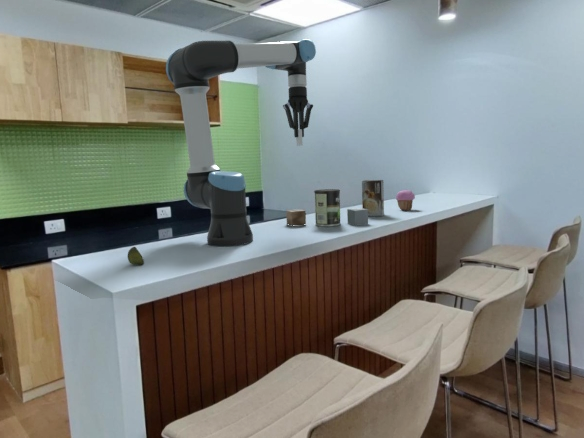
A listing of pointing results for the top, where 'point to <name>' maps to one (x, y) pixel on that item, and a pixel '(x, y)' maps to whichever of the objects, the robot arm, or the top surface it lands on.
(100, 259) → the top surface
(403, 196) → the cupcake
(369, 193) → the coffee box
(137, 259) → the lime
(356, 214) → the slate block
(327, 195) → the coffee can
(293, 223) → the walnut block
